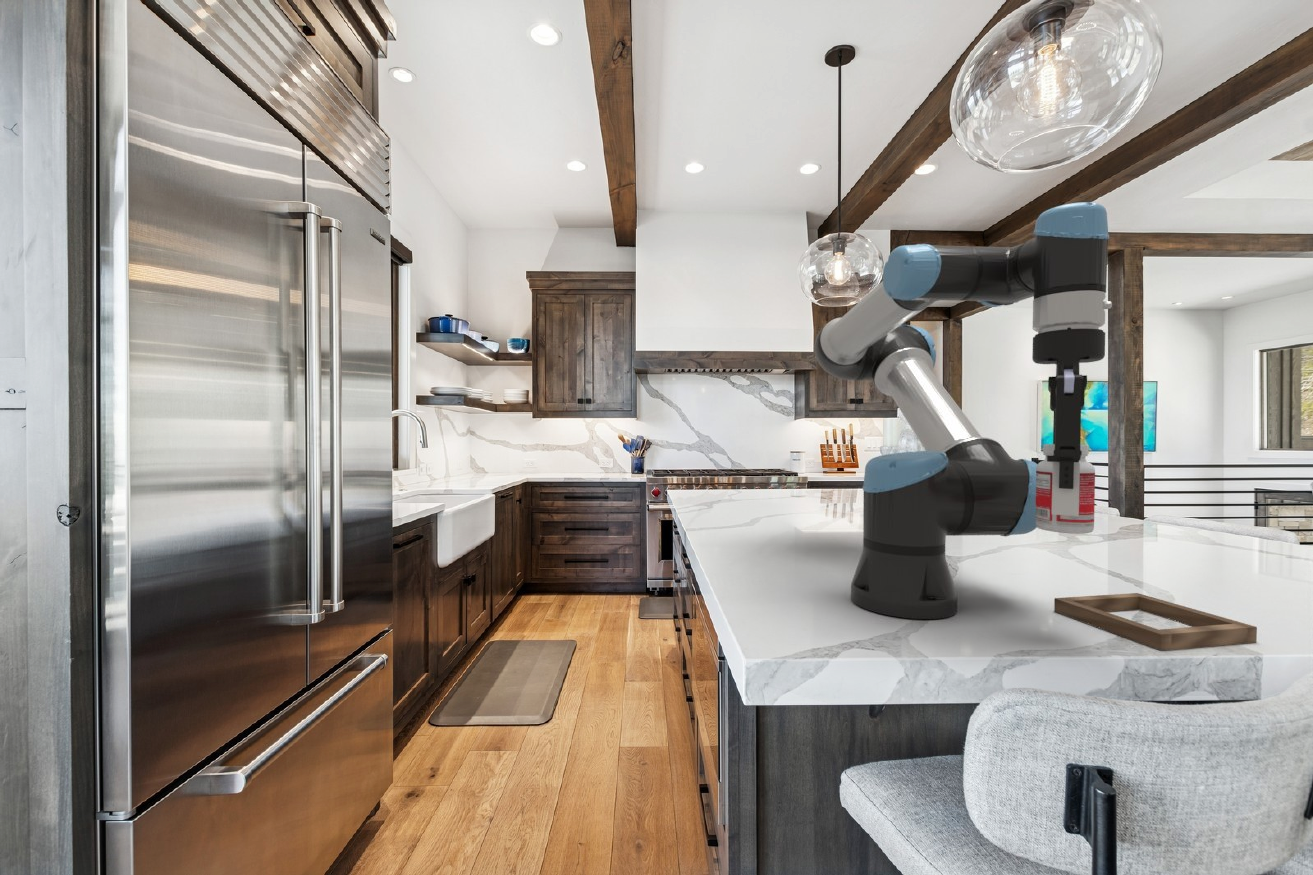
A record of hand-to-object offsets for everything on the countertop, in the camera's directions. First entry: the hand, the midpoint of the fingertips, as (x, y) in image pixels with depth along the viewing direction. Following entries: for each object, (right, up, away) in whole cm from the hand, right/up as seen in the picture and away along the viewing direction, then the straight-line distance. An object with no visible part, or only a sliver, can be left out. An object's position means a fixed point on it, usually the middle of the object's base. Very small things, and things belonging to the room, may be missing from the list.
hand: (1063, 511), depth 73 cm
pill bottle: (0, -3, 0) cm, 3 cm away
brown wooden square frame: (+15, -17, +5) cm, 23 cm away
